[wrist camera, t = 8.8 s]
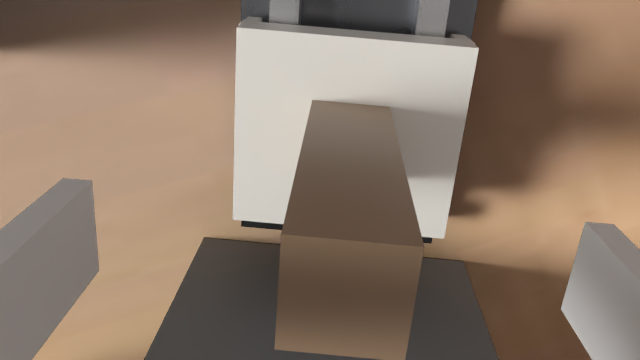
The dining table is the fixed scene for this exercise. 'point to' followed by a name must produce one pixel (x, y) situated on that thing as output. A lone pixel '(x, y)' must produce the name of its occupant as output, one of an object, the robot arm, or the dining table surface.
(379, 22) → the rail track
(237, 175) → the carriage
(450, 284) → the gauge cabinet
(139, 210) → the dining table surface
